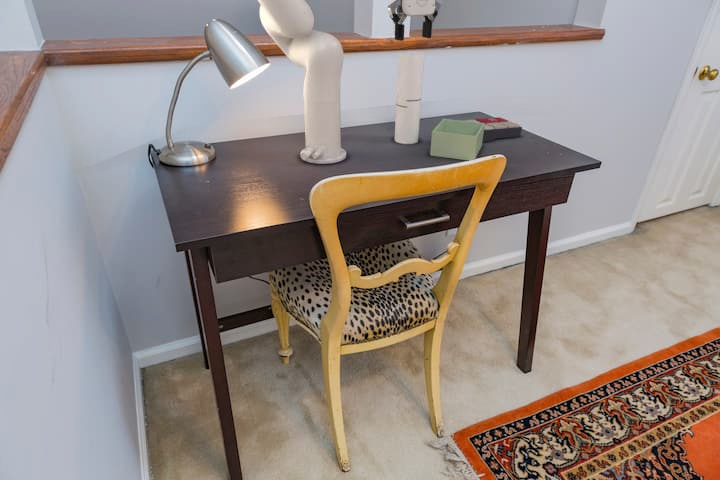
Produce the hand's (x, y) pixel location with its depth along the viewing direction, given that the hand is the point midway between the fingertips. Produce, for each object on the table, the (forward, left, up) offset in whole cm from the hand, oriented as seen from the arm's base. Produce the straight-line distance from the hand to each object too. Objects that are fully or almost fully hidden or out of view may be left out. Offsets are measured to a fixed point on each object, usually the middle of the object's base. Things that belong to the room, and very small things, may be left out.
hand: (413, 38), depth 133 cm
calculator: (+16, -23, -29) cm, 40 cm away
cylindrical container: (0, 0, -29) cm, 29 cm away
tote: (-4, -16, -29) cm, 33 cm away
